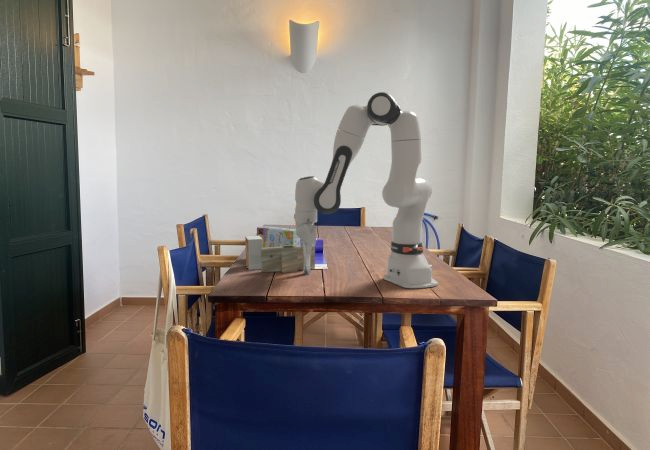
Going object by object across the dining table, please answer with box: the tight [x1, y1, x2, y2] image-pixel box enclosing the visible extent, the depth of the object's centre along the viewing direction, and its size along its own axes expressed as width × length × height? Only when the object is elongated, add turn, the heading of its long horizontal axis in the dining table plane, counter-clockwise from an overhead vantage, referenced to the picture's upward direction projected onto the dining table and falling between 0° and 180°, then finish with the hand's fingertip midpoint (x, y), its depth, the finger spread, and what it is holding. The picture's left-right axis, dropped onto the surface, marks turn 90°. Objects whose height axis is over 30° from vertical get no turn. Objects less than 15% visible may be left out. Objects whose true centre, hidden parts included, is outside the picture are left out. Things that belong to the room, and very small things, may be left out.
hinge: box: [260, 244, 316, 274], centre depth 199 cm, size 6×22×10 cm, turn 106°
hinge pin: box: [303, 242, 311, 276], centre depth 193 cm, size 3×3×13 cm
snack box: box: [256, 225, 301, 248], centre depth 217 cm, size 21×6×15 cm, turn 56°
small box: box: [244, 235, 263, 271], centre depth 204 cm, size 8×6×13 cm
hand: (305, 251), depth 193 cm, fingers open, 8 cm apart
